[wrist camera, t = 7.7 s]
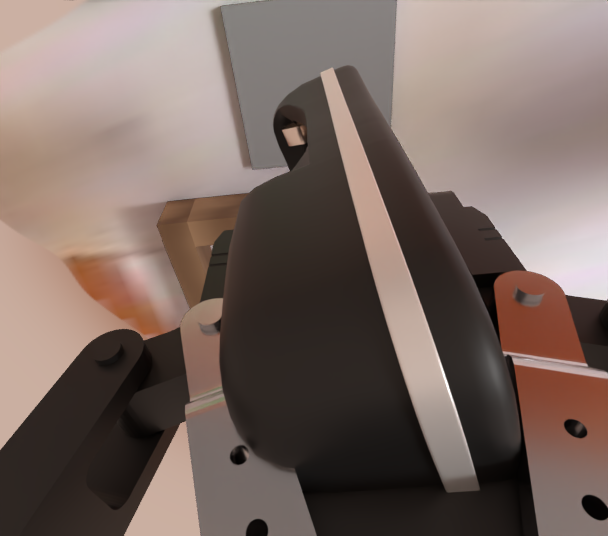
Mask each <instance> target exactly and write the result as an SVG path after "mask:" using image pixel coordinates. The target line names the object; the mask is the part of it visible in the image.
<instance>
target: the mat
mask: <svg viewBox="0 0 608 536" xmlns="http://www.w3.org/2000/svg"><path fill="white" fill-rule="evenodd" d="M396 6H397V0H265V1H256V2H248V3H240V4H232V5H223V6H221V12H222V17H223V22H224V27H225V32H226V37H227V43H228V48H229V53H230V58H231V63H232V68H233V73H234V78H235V83H236V88H237V93H238V99H239V104H240V109H241V114H242V119H243V124H244V129H245V134H246V139H247V144H248V149H249V155H250V160H251V165H252V170H256V169H265V168H275V167H284V166H288V165H287V163H286V161H285V158H284V156H283V154H282V152H281V150H280V148H279V145H278V142H277V140H276V137H275V134H274V129H273V118H274V114H275V111H276V109H277V107H278V105H279V104H280V103H281V101H282V100H283V99H284V98H285V97H286V96H287V95H288V94H289V93H291V92H292V91H294V90H295V89H296V88H298V87H299V86H300V85H301V84H303V83H306V82H308V81H310V80H312V79H315V78H317V77H319V76H321V74H320V73H321V72H323V71H325V70H327V69H330V68H332V67H333V69H334V70H335V69H337V68H340V67H342V66H346V65H350V66H353V67H355V68H356V69H357V71H358V73H359V74H360V76H361V78H362V80H363V82H364V84H365V86H366V87H367V89H368V91H369V93H370V95H371V97H372V98H373V100H374V102H375V103H376V105H377V107H378V108H379V110H380V111H381V113H382V115H383V116H384V118H385V120H386V121H387V123H388V125H389V126H390V128H391V112H392V91H393V70H394V49H395V28H396Z"/></svg>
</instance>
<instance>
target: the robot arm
mask: <svg viewBox="0 0 608 536" xmlns="http://www.w3.org/2000/svg"><path fill="white" fill-rule="evenodd" d="M428 194H429V196H430V198H431V200H432V202H433V203H434V205H435V207H436V209H437V211H438V213H439V214H440V216H441V218H442V220H443V222H444V224H445V225H446V227H447V229H448V231H449V233H450V235H451V236H452V238H453V240H454V242H455V244H456V246H457V248H458V249H459V251H460V253H461V255H462V257H463V259H464V261H465V263H466V265H467V267H468V269H469V271H470V273H471V275H472V277H473V279H474V281H475V284H476V286H477V288H478V290H479V293H480V295H481V297H482V300H483V302H484V304H485V307H486V309H487V311H488V314H489V316H490V318H491V321H492V324H493V326H494V329H495V332H496V335H497V337H498V340H499V343H500V346H501V348H502V351H503V354H504V357H505V360H506V363H507V367H508V371H509V374H510V378H511V381H512V385H513V389H514V392H515V398H516V404H517V409H518V415H519V422H520V432H521V442H522V446H521V458H520V462H519V465H518V468H517V471H516V474H517V476H516V477H515V478H513V479H509V480H504V481H499V482H486V483H478V484H479V487H480V490H478V491H464V492H450V493H448V492H446V490H445V488H444V485H442V486H427V487H412V488H398V489H383V490H368V491H354V492H339V493H333V492H314V491H302V490H301V486H300V483H299V480H298V477H297V474H296V471H295V468H288V467H281V466H279V465H277V464H275V463H273V462H271V461H268V460H266V459H264V458H262V457H260V456H258V455H256V454H255V453H254V452H253V450H252V449H251V448H250V447H249V446H248V444H247V443H246V442H245V441H244V439H243V438H242V437H241V436H240V434H239V433H238V431H237V429H236V427H235V425H234V423H233V421H232V420H231V417H230V414H229V411H228V407H227V404H226V400H225V397H224V394H223V389H222V381H221V373H220V364H219V352H220V328H221V316H222V305H223V295H224V285H225V276H226V268H227V260H228V253H229V246H230V242H231V239H232V235H233V231H234V230H225V231H223V232H222V233H221V235H220V236H219V237H218V238H217V239H216V240H215V242H214V245H213V249H212V253H211V255H212V257H211V258H210V262H209V267H208V270H207V274H206V279H205V283H204V287H203V291H202V295H201V299H200V303H199V304H197V305H195V306H194V307H192V308H191V309H190V310H189V311H188V312H187V313H186V314H185V316H184V317H183V319H182V321H181V325H180V327H179V328H177V329H175V330H173V331H170V332H168V333H165V334H162V335H159V336H156V337H153V338H150V339H148V340H145V341H144V340H143V339H142V337H141V336H140V334H138V333H137V332H135V331H133V330H129V329H119V330H114V331H110V332H107V333H105V334H103V335H101V336H99V337H97V338H96V339H94V340H93V341H91V342H90V343H89V344H88V345H87V346H86V347H85V348H84V349H83V350H82V351H81V353H80V354H79V355H78V356H77V357H76V359H75V360H74V361H73V362H72V363H71V365H70V366H69V367H68V368H67V370H66V371H65V372H64V373H63V375H62V376H61V377H60V378H59V379H58V381H57V382H56V383H55V384H54V385H53V387H52V388H51V389H50V390H49V392H48V393H47V394H46V395H45V396H44V398H43V399H42V400H41V401H40V403H39V404H38V405H37V406H36V407H35V409H34V410H33V411H32V412H31V413H30V415H29V416H28V417H27V418H26V419H25V421H24V422H23V423H22V424H21V426H20V427H19V428H18V429H17V431H16V432H15V433H14V434H13V435H12V437H11V438H10V439H9V440H8V441H7V443H6V444H5V445H4V447H3V448H2V449H1V450H0V536H124V534H125V532H126V530H127V528H128V526H129V524H130V522H131V520H132V518H133V516H134V514H135V512H136V510H137V508H138V506H139V504H140V502H141V500H142V498H143V496H144V494H145V492H146V490H147V489H148V487H149V485H150V482H151V481H152V479H153V477H154V475H155V473H156V471H157V469H158V467H159V465H160V463H161V461H162V459H163V457H164V455H165V453H166V451H167V449H168V447H169V445H170V443H171V441H172V439H173V437H174V435H175V433H176V431H177V429H178V427H179V425H180V423H182V422H185V421H186V425H187V433H188V441H189V448H190V457H191V464H192V472H193V480H194V488H195V496H196V503H197V511H198V519H199V527H200V535H201V536H608V300H607V301H604V300H597V299H589V298H582V297H574V296H568V295H565V293H564V291H563V290H562V288H561V287H560V286H559V285H558V284H557V283H555V282H554V281H553V280H551V279H549V278H548V277H545V276H543V275H541V274H538V273H534V272H530V271H526V269H525V268H524V266H523V265H522V264H521V262H520V261H519V260H518V258H517V257H516V255H515V254H514V253H513V251H512V250H511V249H510V247H509V246H508V244H507V243H506V242H505V240H504V239H502V236H501V235H500V234H499V232H498V231H497V230H495V227H494V225H493V224H492V223H491V221H490V220H489V218H488V217H487V216H486V215H485V214H483V213H481V212H480V211H478V210H477V209H475V208H473V207H472V206H471V207H463V206H462V204H461V203H460V201H459V200H458V198H457V197H456V195H455V194H454V193H453V192H452V191H446V192H436V193H428Z"/></svg>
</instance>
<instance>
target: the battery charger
mask: <svg viewBox="0 0 608 536" xmlns="http://www.w3.org/2000/svg"><path fill="white" fill-rule="evenodd" d="M320 74H321V76H319V77H317V78H315V79H312V80H310V81H308V82H306V83H303V84H301V85H300V86H299V87H298V88H296V89H295V90H294V91H292V92H291V93H289V94H288V95H287V96H286V97H285V98H284V99H283V100H282V101H281V103H280V104H279V105H278V107H277V109H276V111H275V114H274V118H273V129H274V134H275V137H276V140H277V142H278V145H279V148H280V150H281V152H282V154H283V156H284V158H285V161H286V163H287V165H288V167H289V169H290V172H287V173H285V174H282V175H280V176H277V177H275V178H273V179H271V180H269V181H267V182H265V183H263V184H261V185H260V186H258V187H256V188H254V189H253V190H252V191H251V192H250V193H249V194H248V195H247V196H246V197H245V198H244V199H243V200H242V201H241V203H240V207H239V210H238V214H237V219H236V223H235V227H234V231H233V235H232V239H231V242H230V246H229V253H228V260H227V268H226V276H225V285H224V295H223V305H222V316H221V328H220V352H219V364H220V373H221V381H222V389H223V394H224V397H225V400H226V404H227V407H228V411H229V414H230V417H231V420H232V421H233V423H234V425H235V427H236V429H237V431H238V433H239V434H240V436H241V437H242V438H243V439H244V441H245V442H246V443H247V444H248V446H249V447H250V448H251V449H252V450H253V452H254V453H255V454H256V455H258V456H260V457H262V458H264V459H266V460H268V461H271V462H273V463H275V464H277V465H279V466H281V467H288V468H295V471H296V474H297V477H298V480H299V483H300V486H301V490H302V491H314V492H333V493H339V492H354V491H368V490H383V489H398V488H412V487H427V486H442V485H444V488H445V490H446V492H448V493H450V492H464V491H478V490H480V487H479V484H478V483H486V482H499V481H504V480H509V479H513V478H515V477H516V476H517V474H516V471H517V468H518V465H519V462H520V458H521V446H522V442H521V432H520V422H519V415H518V409H517V404H516V398H515V392H514V389H513V385H512V381H511V378H510V374H509V371H508V367H507V363H506V360H505V357H504V354H503V351H502V348H501V346H500V343H499V340H498V337H497V335H496V332H495V329H494V326H493V324H492V321H491V318H490V316H489V314H488V311H487V309H486V307H485V304H484V302H483V300H482V297H481V295H480V293H479V290H478V288H477V286H476V284H475V281H474V279H473V277H472V275H471V273H470V271H469V269H468V267H467V265H466V263H465V261H464V259H463V257H462V255H461V253H460V251H459V249H458V248H457V246H456V244H455V242H454V240H453V238H452V236H451V235H450V233H449V231H448V229H447V227H446V225H445V224H444V222H443V220H442V218H441V216H440V214H439V213H438V211H437V209H436V207H435V205H434V203H433V202H432V200H431V198H430V196H429V194H428V193H427V191H426V189H425V187H424V185H423V184H422V182H421V180H420V178H419V176H418V175H417V173H416V171H415V169H414V167H413V166H412V164H411V162H410V160H409V159H408V157H407V155H406V153H405V152H404V150H403V148H402V146H401V145H400V143H399V141H398V140H397V138H396V136H395V135H394V133H393V131H392V130H391V128H390V126H389V125H388V123H387V121H386V120H385V118H384V116H383V115H382V113H381V111H380V110H379V108H378V107H377V105H376V103H375V102H374V100H373V98H372V97H371V95H370V93H369V91H368V89H367V87H366V86H365V84H364V82H363V80H362V78H361V76H360V74H359V73H358V71H357V69H356V68H355V67H353V66H350V65H346V66H342V67H340V68H337V69H335V70H334V69H333V67H332V68H330V69H327V70H325V71H323V72H321V73H320Z"/></svg>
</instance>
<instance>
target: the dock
mask: <svg viewBox="0 0 608 536" xmlns="http://www.w3.org/2000/svg"><path fill="white" fill-rule="evenodd" d="M248 194H249V193H246V194H236V195H226V196H217V197H207V198H197V199H188V200H178V201H168V202H167V204H166V206H165V208H164V210H163V213H162V215H161V217H160V219H159V221H158V223H157V227H158V230H159V232H160V234H161V237H162V242H163V244H164V246H165V249H166V251H167V254H168V256H169V259H170V261H171V264H172V266H173V268H174V271H175V273H176V276H177V278H178V281H179V283H180V285H181V288H182V290H183V293H184V295H185V298H186V300H187V303H188V305H189V307H190V309H191V308H192V307H194V306H195V305H197V304H199V303H200V299H201V295H202V291H203V287H204V283H205V279H206V274H207V270H208V267H209V262H210V258H211V257H212V255H211V253H212V250H211V247H210V245H214V242H215V240H216V239H217V238H218V237H219V236H220V235H221V233H222V232H223V231H225V230H234V227H235V223H236V219H237V214H238V210H239V207H240V203H241V201H242V200H243V199H244V198H245V197H246V196H247V195H248Z"/></svg>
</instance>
